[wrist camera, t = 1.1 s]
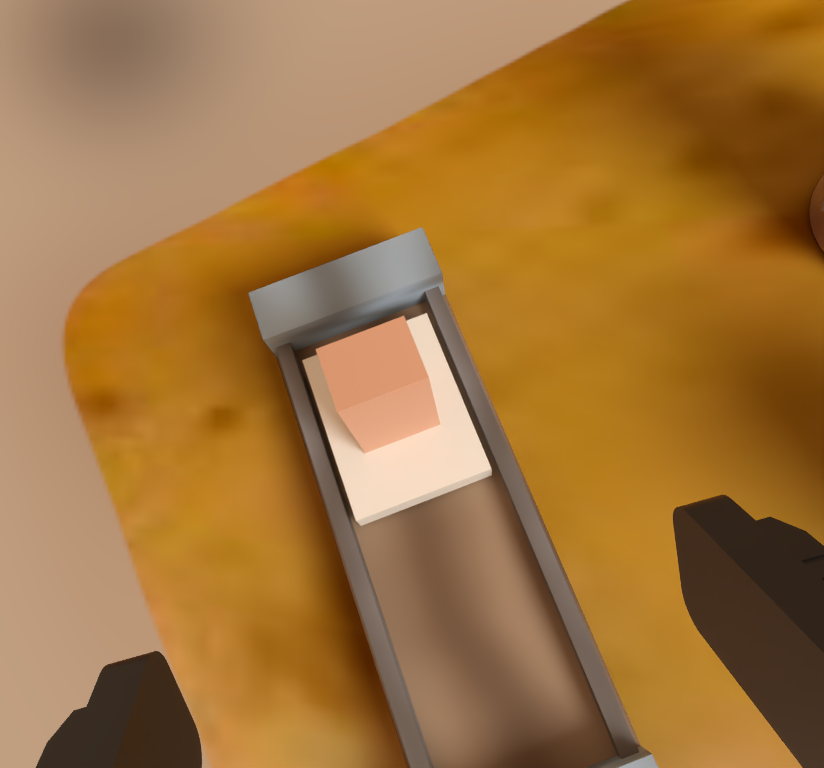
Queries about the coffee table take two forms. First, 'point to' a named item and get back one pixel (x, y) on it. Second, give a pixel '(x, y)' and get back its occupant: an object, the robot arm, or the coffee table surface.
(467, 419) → the carriage
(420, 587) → the rail
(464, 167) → the coffee table surface
